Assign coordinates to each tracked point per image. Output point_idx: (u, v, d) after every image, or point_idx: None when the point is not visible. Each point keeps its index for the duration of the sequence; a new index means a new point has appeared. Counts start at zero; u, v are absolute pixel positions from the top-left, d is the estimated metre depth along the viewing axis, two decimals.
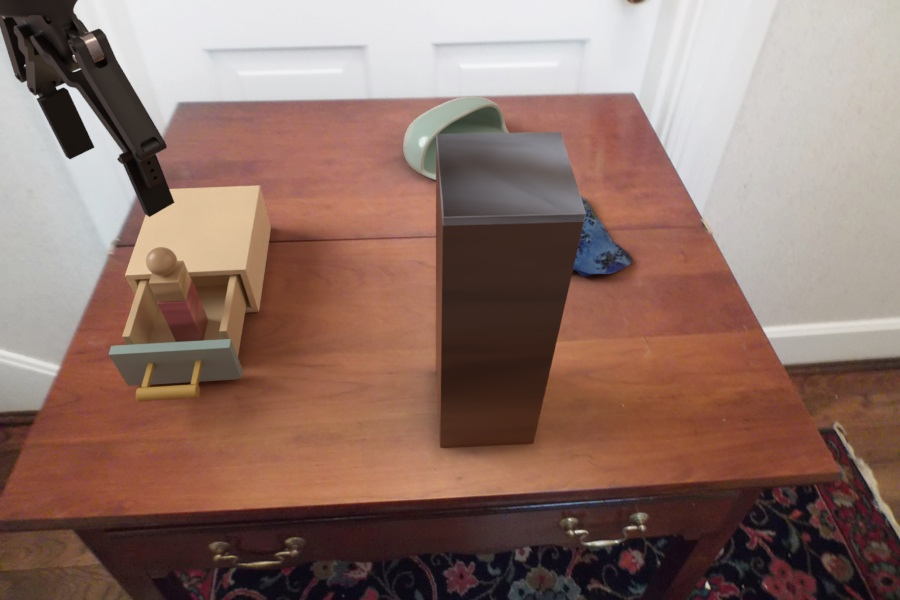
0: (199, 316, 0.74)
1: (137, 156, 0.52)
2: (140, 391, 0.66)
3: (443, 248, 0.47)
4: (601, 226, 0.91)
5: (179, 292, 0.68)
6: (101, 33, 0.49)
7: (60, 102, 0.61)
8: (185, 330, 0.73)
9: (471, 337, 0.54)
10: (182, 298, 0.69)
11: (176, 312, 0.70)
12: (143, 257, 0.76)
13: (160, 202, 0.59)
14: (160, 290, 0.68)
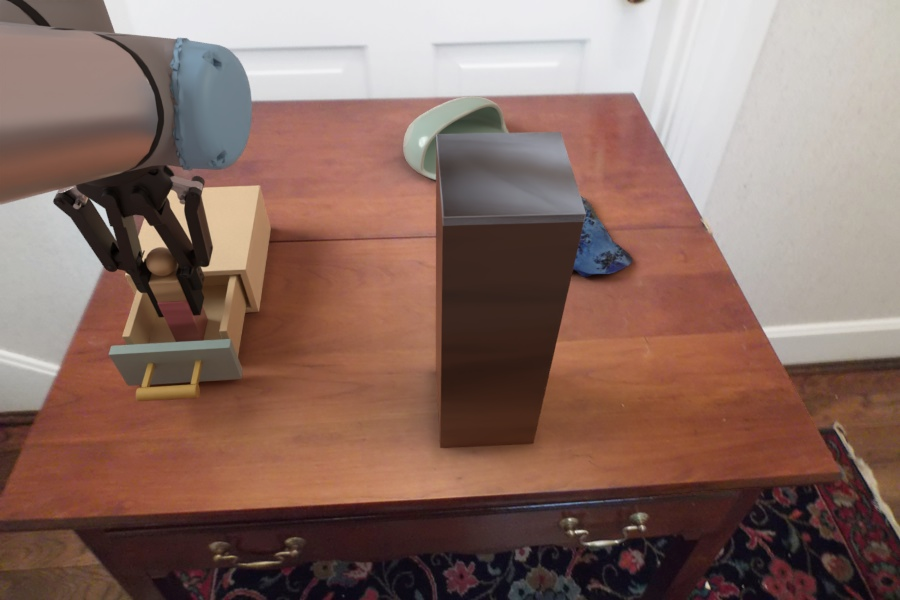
0: (199, 316, 0.74)
1: (206, 264, 0.66)
2: (140, 391, 0.66)
3: (443, 248, 0.47)
4: (601, 226, 0.91)
5: (179, 292, 0.68)
6: (203, 180, 0.61)
7: None
8: (185, 330, 0.73)
9: (471, 337, 0.54)
10: (182, 298, 0.69)
11: (176, 312, 0.70)
12: (143, 257, 0.76)
13: (200, 300, 0.72)
14: (160, 290, 0.68)
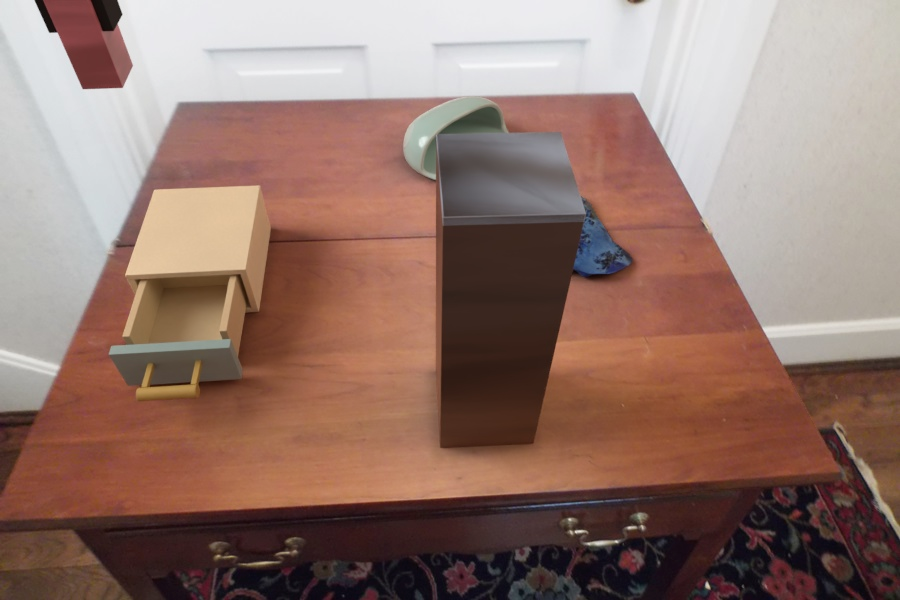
0: (115, 44, 0.49)
1: None
2: (140, 391, 0.66)
3: (443, 248, 0.47)
4: (601, 226, 0.91)
5: None
6: None
7: None
8: (92, 59, 0.48)
9: (471, 337, 0.54)
10: None
11: (73, 19, 0.45)
12: (143, 257, 0.76)
13: (114, 11, 0.47)
14: None
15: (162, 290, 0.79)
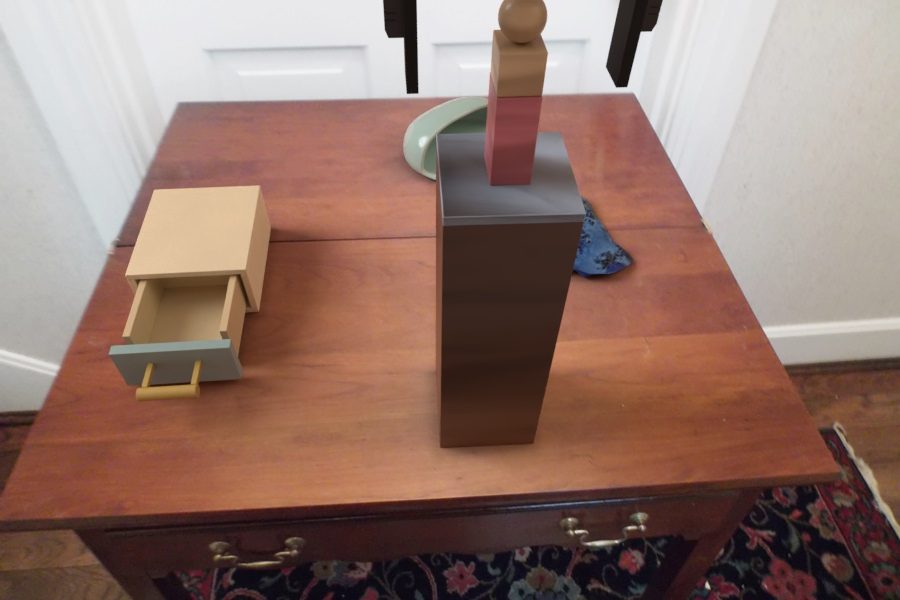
0: None
1: None
2: (140, 391, 0.66)
3: (443, 248, 0.47)
4: (601, 226, 0.91)
5: (540, 76, 0.41)
6: None
7: None
8: (515, 157, 0.45)
9: (471, 337, 0.54)
10: (539, 90, 0.41)
11: (517, 120, 0.43)
12: (143, 257, 0.76)
13: None
14: (512, 70, 0.40)
15: (162, 290, 0.79)
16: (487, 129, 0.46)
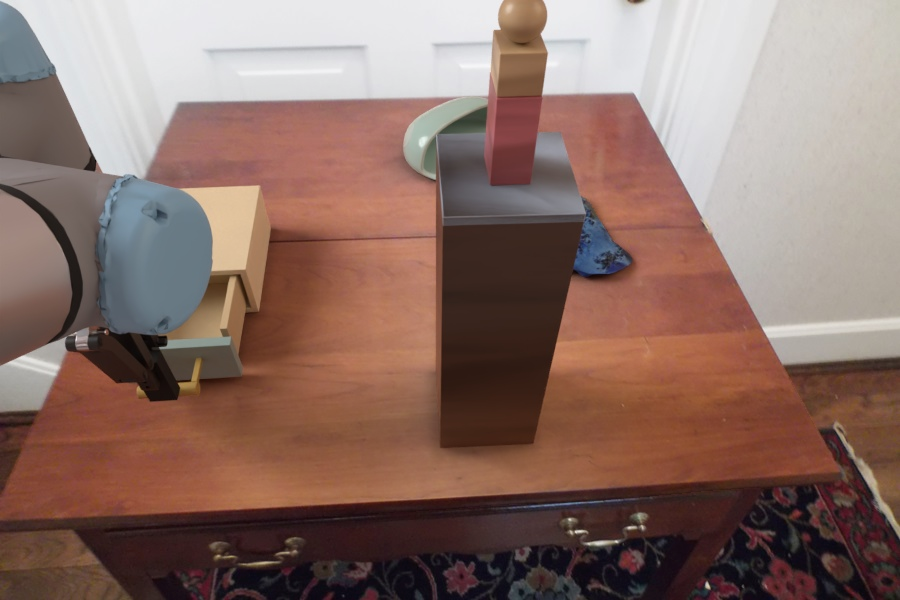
0: None
1: None
2: None
3: (443, 248, 0.47)
4: (601, 226, 0.91)
5: (540, 76, 0.41)
6: None
7: None
8: (515, 157, 0.45)
9: (471, 337, 0.54)
10: (539, 90, 0.41)
11: (517, 120, 0.43)
12: None
13: None
14: (512, 70, 0.40)
15: None
16: (487, 129, 0.46)
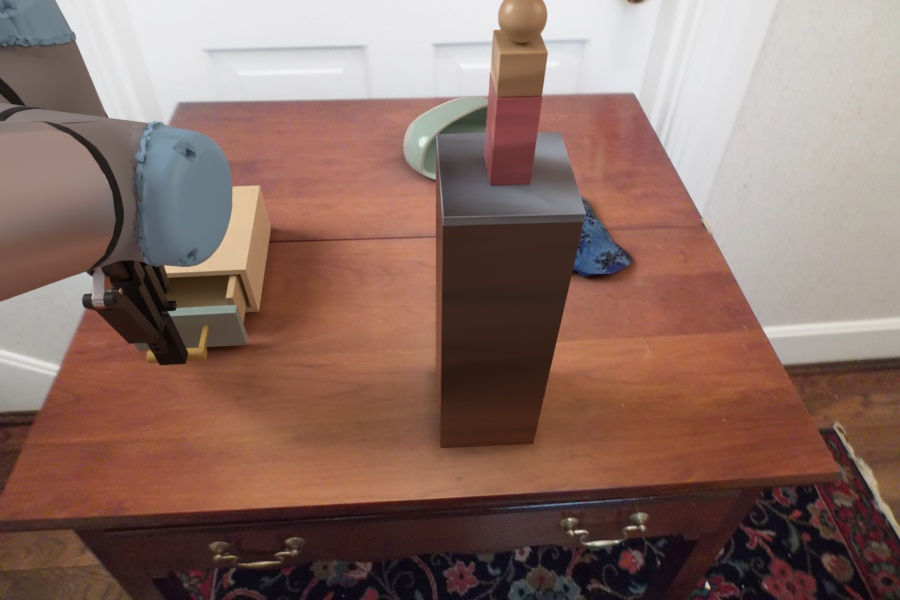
0: None
1: (170, 287, 0.65)
2: (150, 353, 0.69)
3: (443, 248, 0.47)
4: (601, 226, 0.91)
5: (540, 76, 0.41)
6: None
7: None
8: (515, 157, 0.45)
9: (471, 337, 0.54)
10: (539, 90, 0.41)
11: (517, 120, 0.43)
12: None
13: None
14: (512, 70, 0.40)
15: None
16: (487, 129, 0.46)
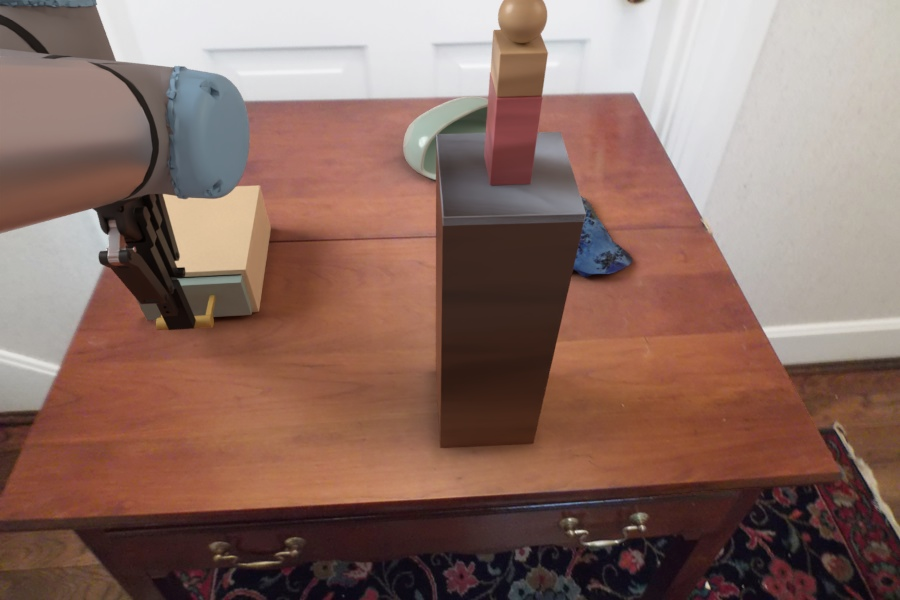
0: None
1: (179, 254, 0.68)
2: (160, 320, 0.72)
3: (443, 248, 0.47)
4: (601, 226, 0.91)
5: (540, 76, 0.41)
6: None
7: None
8: (515, 157, 0.45)
9: (471, 337, 0.54)
10: (539, 90, 0.41)
11: (517, 120, 0.43)
12: None
13: None
14: (512, 70, 0.40)
15: None
16: (487, 129, 0.46)
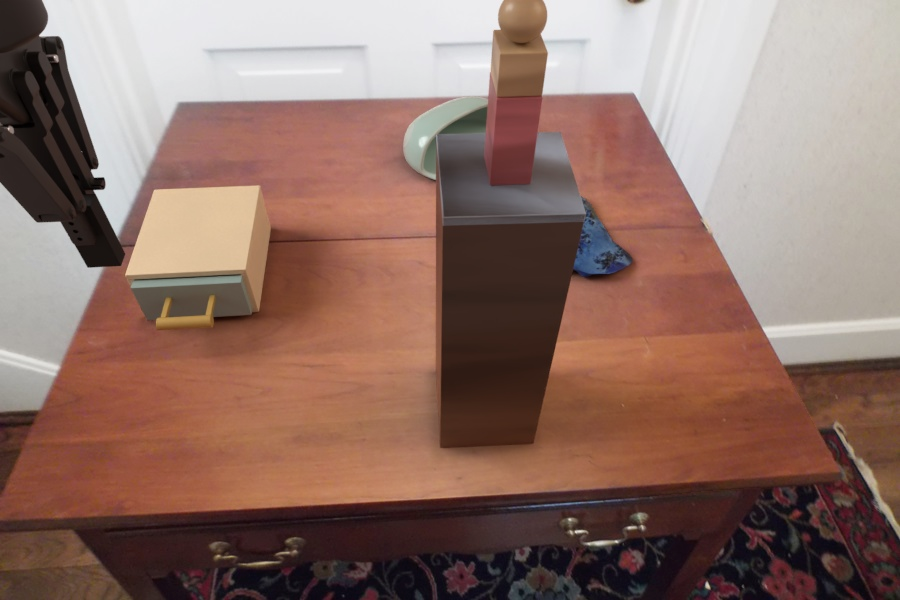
0: None
1: (97, 161, 0.51)
2: (160, 320, 0.72)
3: (443, 248, 0.47)
4: (601, 226, 0.91)
5: (540, 76, 0.41)
6: None
7: None
8: (515, 157, 0.45)
9: (471, 337, 0.54)
10: (539, 90, 0.41)
11: (517, 120, 0.43)
12: (143, 257, 0.76)
13: None
14: (512, 70, 0.40)
15: None
16: (487, 129, 0.46)
